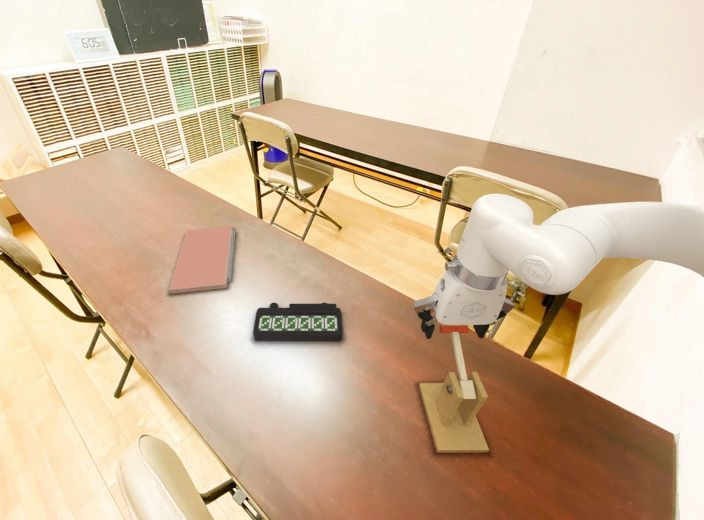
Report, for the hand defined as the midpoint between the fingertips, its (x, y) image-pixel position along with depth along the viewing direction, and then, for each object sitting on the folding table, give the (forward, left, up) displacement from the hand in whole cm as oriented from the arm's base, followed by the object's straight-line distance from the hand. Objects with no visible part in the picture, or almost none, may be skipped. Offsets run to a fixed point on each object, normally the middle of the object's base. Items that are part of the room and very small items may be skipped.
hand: (451, 331), depth 61 cm
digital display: (+6, +32, -15) cm, 36 cm away
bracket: (-9, -2, -15) cm, 17 cm away
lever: (-4, -1, -3) cm, 5 cm away
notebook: (+24, +66, -15) cm, 72 cm away
